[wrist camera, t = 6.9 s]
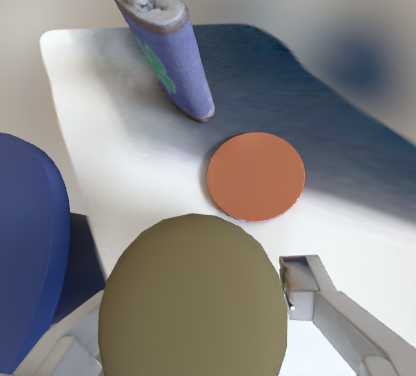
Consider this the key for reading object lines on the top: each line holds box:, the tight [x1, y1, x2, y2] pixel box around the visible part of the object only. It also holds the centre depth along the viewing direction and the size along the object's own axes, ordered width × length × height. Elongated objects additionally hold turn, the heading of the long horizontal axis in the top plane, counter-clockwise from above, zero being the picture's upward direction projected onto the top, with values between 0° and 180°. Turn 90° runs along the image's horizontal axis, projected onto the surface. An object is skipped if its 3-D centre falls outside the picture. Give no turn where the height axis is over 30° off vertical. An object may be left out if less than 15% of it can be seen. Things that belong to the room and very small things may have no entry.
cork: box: [98, 213, 288, 376], centre depth 9 cm, size 6×6×11 cm
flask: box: [115, 0, 215, 122], centre depth 16 cm, size 9×3×11 cm, turn 38°
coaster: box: [207, 132, 305, 222], centre depth 16 cm, size 8×8×1 cm
